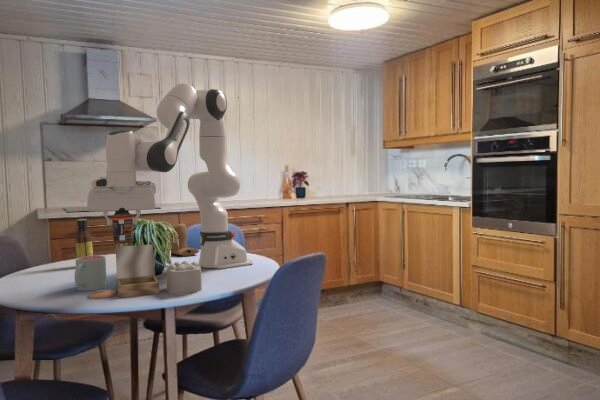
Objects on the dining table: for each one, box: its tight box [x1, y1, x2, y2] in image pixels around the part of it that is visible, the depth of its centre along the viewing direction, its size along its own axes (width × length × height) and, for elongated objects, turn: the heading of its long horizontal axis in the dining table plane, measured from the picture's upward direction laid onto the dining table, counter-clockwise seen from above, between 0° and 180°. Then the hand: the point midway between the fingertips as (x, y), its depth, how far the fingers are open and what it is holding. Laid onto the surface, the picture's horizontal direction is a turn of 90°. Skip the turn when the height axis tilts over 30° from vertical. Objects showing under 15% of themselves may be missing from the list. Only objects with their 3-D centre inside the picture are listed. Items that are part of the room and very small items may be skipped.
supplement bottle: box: [111, 208, 134, 245], centre depth 147 cm, size 6×6×11 cm
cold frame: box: [115, 244, 160, 298], centre depth 152 cm, size 12×16×14 cm
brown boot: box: [170, 223, 200, 257], centre depth 219 cm, size 15×12×15 cm
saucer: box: [89, 289, 117, 300], centre depth 145 cm, size 8×8×1 cm
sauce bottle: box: [74, 218, 94, 258], centre depth 194 cm, size 7×6×20 cm
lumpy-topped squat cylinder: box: [165, 260, 203, 295], centre depth 153 cm, size 10×13×9 cm
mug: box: [74, 255, 107, 292], centre depth 154 cm, size 14×9×10 cm
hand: (122, 224), depth 147 cm, fingers closed on supplement bottle, 6 cm apart
